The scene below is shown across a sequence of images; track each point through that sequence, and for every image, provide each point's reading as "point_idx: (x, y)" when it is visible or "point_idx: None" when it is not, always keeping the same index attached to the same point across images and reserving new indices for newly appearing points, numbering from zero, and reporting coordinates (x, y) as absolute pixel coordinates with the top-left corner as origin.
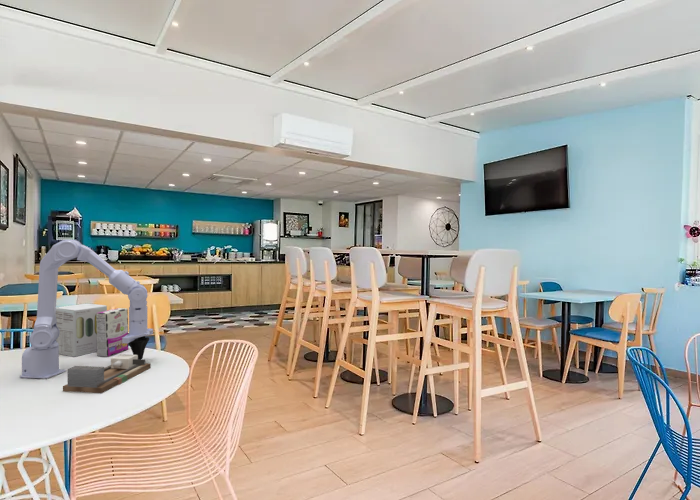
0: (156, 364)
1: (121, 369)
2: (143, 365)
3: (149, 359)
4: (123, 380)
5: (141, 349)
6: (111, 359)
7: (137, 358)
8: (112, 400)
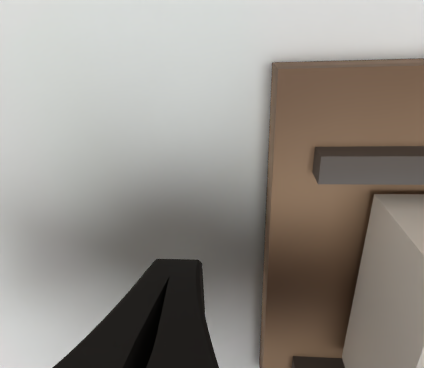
0: (125, 78)
1: None
2: (380, 113)
3: (5, 247)
4: None
5: (192, 363)
6: None
7: (422, 241)
8: None
